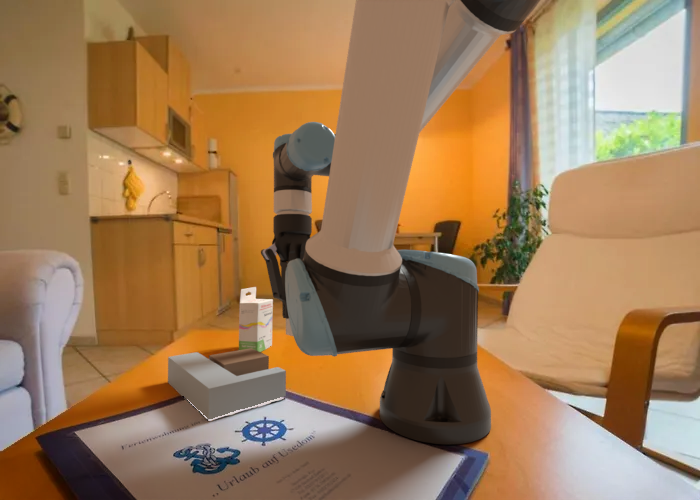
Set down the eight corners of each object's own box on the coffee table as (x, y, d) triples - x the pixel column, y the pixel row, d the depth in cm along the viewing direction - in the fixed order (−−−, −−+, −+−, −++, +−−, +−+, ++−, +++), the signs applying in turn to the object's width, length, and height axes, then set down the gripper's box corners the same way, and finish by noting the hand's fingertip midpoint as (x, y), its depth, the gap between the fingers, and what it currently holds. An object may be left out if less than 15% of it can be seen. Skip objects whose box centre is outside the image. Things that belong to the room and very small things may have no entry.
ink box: (257, 354, 83) (258, 289, 83) (237, 353, 84) (238, 289, 84) (273, 345, 91) (273, 286, 91) (254, 344, 92) (255, 286, 92)
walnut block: (268, 384, 64) (268, 356, 65) (224, 395, 59) (224, 364, 59) (250, 374, 70) (251, 348, 70) (208, 383, 65) (209, 355, 65)
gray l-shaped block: (285, 399, 57) (285, 370, 57) (208, 421, 49) (209, 388, 49) (233, 368, 72) (233, 346, 72) (167, 382, 64) (168, 356, 64)
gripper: (309, 219, 79) (309, 328, 78) (253, 214, 71) (253, 336, 70) (330, 215, 74) (330, 333, 73) (272, 209, 65) (272, 342, 64)
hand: (292, 334), depth 71 cm, fingers closed
